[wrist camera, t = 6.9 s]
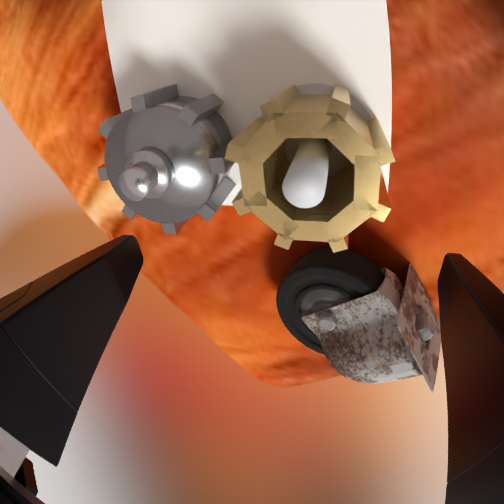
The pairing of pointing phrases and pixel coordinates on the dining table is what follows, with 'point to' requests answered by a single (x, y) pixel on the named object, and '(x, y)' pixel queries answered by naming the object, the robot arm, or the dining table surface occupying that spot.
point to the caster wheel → (361, 317)
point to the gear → (168, 157)
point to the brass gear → (338, 186)
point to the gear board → (258, 65)
